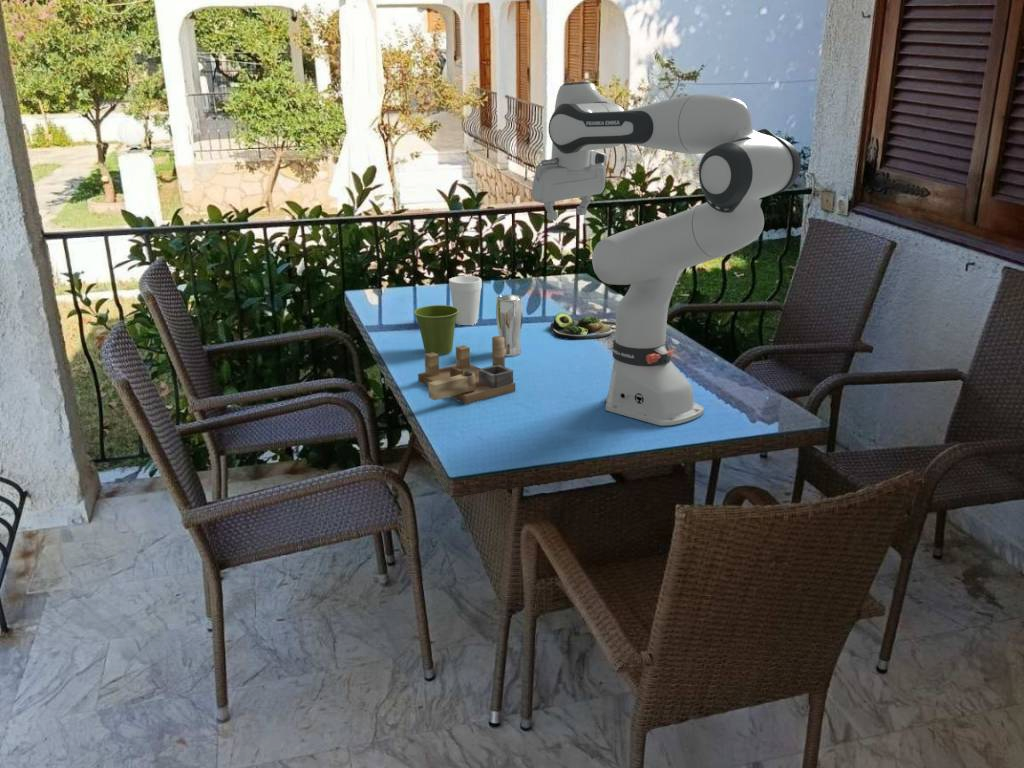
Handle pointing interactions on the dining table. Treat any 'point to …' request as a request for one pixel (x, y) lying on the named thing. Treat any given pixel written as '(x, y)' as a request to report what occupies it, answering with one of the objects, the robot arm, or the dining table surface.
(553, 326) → the salad plate
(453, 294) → the foam cup
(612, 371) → the robot arm
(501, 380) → the wooden assembly base board
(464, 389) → the hinged leg
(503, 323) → the beer glass
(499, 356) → the oak leg peg
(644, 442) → the dining table surface
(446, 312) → the plant pot
